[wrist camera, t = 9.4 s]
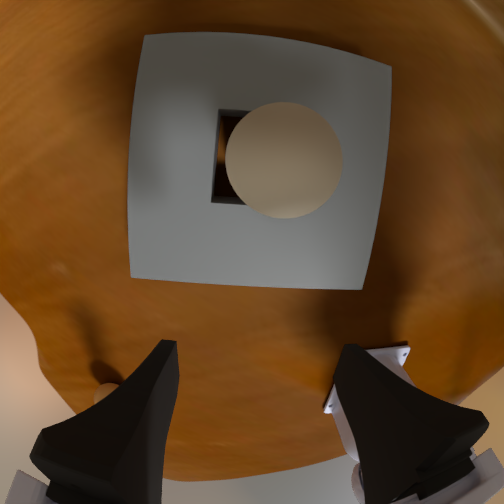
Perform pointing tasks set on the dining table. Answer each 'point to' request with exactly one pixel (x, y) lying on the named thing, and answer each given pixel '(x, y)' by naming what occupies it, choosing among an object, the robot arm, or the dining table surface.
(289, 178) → the birch dowel
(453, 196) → the dining table surface
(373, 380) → the robot arm
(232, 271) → the socket block
